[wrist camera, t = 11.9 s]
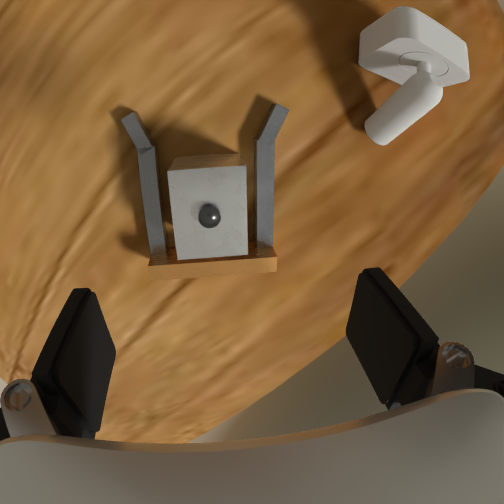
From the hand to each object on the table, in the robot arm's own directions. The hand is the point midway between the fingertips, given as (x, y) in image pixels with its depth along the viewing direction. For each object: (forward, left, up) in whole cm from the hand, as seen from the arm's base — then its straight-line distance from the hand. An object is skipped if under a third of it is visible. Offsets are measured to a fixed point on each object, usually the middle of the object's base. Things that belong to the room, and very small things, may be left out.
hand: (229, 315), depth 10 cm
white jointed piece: (-10, +16, -19) cm, 27 cm away
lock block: (+1, -1, -19) cm, 19 cm away
